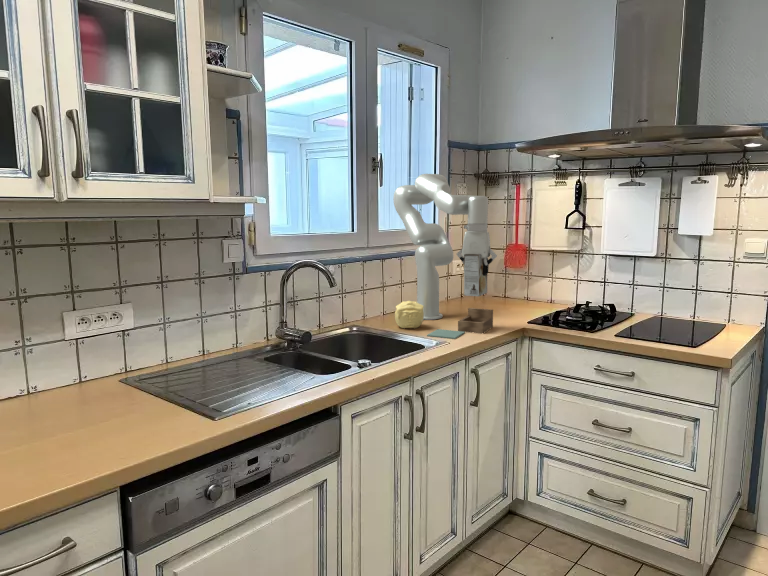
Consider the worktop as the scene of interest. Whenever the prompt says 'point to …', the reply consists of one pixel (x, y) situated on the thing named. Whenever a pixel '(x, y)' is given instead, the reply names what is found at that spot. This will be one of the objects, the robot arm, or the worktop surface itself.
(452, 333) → the mat
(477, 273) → the coffee box
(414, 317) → the sculpture
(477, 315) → the packet holder
